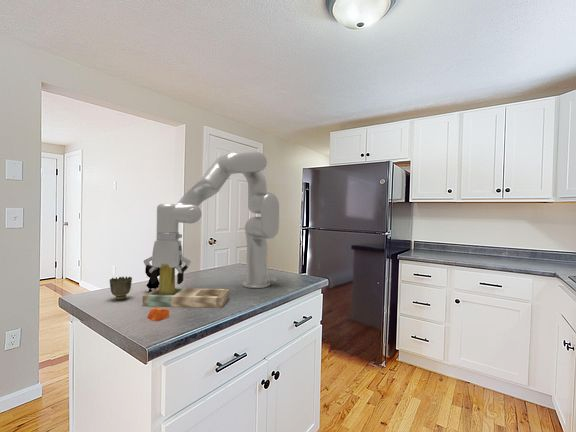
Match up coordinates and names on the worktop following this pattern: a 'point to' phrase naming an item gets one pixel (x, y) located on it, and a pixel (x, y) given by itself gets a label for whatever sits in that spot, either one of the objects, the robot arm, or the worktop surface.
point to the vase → (166, 280)
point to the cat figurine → (149, 285)
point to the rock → (158, 314)
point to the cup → (120, 287)
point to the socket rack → (188, 298)
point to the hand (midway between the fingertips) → (167, 283)
